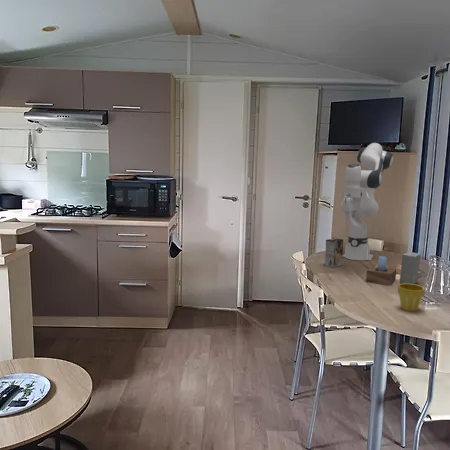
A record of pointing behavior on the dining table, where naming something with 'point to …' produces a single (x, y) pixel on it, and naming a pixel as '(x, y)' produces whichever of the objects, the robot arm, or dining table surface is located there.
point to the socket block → (381, 276)
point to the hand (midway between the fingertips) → (350, 218)
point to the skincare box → (410, 268)
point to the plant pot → (410, 296)
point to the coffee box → (334, 252)
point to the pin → (382, 263)
